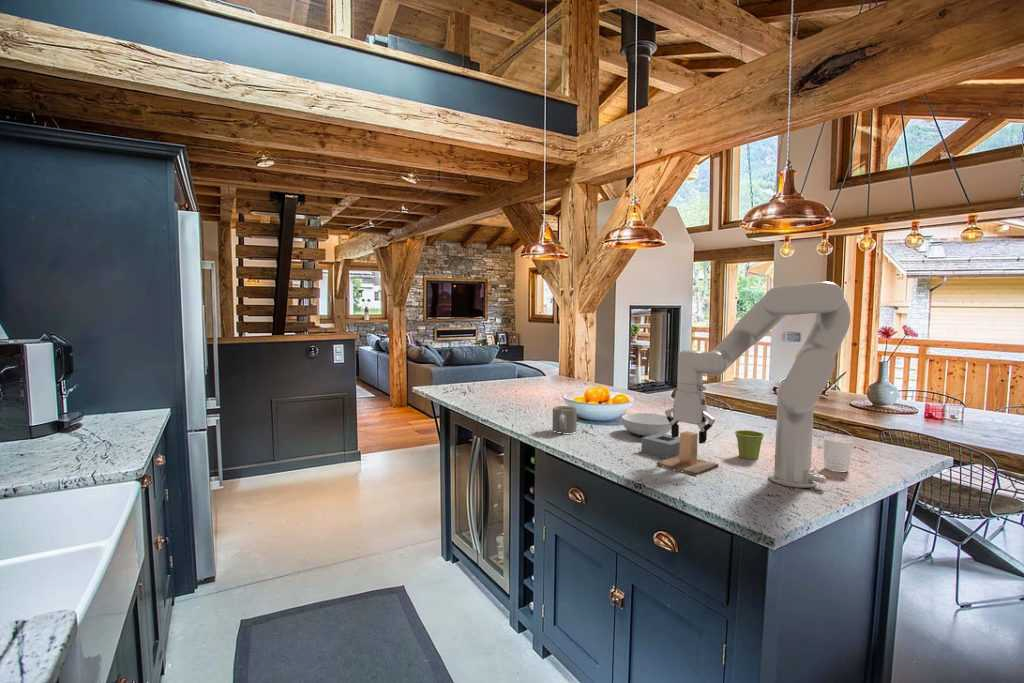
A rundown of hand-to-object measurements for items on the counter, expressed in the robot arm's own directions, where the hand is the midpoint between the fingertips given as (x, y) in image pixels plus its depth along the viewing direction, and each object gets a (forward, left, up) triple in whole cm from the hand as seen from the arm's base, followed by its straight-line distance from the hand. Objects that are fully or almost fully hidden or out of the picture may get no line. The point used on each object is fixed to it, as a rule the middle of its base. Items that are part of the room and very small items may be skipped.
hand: (688, 439), depth 166 cm
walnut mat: (0, 0, -9) cm, 9 cm away
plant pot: (-8, -26, -9) cm, 29 cm away
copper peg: (0, 0, -8) cm, 8 cm away
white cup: (-33, -35, -9) cm, 49 cm away
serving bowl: (+34, -27, -9) cm, 44 cm away
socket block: (+14, -9, -9) cm, 19 cm away
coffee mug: (+58, -2, -9) cm, 59 cm away
